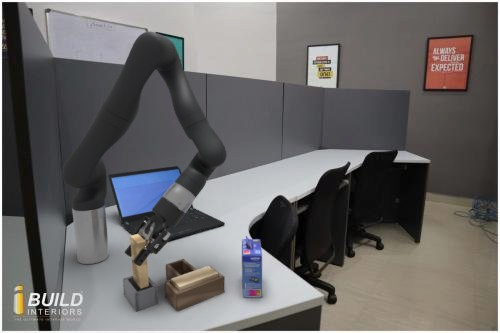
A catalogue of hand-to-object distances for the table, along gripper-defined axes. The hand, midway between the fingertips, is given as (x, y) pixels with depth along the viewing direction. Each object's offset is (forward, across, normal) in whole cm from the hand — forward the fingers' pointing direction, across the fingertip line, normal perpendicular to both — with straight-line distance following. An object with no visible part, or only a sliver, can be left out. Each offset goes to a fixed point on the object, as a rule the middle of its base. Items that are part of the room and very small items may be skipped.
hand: (132, 259), depth 83 cm
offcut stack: (-1, +7, +18) cm, 19 cm away
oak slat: (+4, 0, +6) cm, 7 cm away
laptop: (-13, -47, +30) cm, 57 cm away
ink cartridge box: (-11, +13, +28) cm, 33 cm away
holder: (+7, 0, +9) cm, 12 cm away
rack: (-1, +3, +18) cm, 18 cm away
